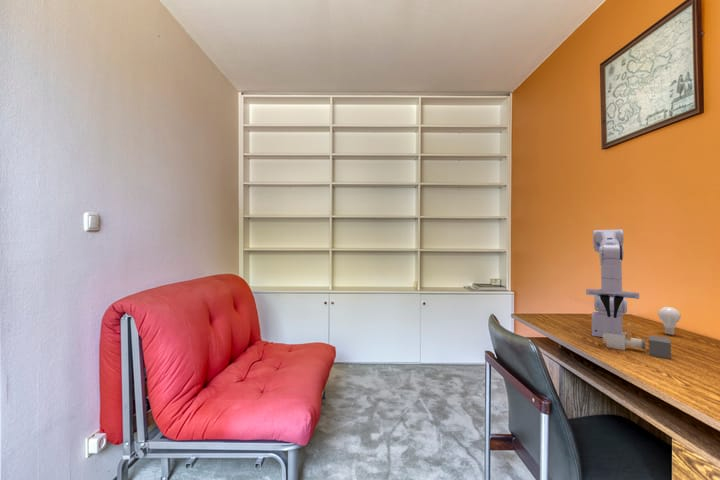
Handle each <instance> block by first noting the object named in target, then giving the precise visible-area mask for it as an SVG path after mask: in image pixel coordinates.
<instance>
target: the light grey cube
mask: <svg viewBox="0 0 720 480" xmlns="http://www.w3.org/2000/svg"><path fill="white" fill-rule="evenodd" d="M625 337H627V331H625V332H624V331H622V332H619V331H612V330H607V332H606V342H605V346H606V348H609V349H610V348H611V349H614V350H615V349H616V350H622V351H626V347H627V346H625Z"/></svg>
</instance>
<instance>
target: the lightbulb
mask: <svg viewBox="0 0 720 480" xmlns="http://www.w3.org/2000/svg"><path fill="white" fill-rule="evenodd" d="M657 316H658V318H659V319H660V320H661V322H662V324H663V327H664V333H665V334H667V335H668V336H673V335H675V328H676V325H677V323H679V321H680V320H681V319H682V315H681V313H680V311H679V310H678V309H676V308H675V307H672V306H663V307H661V308H660V309H659V310H658V311H657Z"/></svg>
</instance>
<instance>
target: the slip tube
mask: <svg viewBox="0 0 720 480" xmlns="http://www.w3.org/2000/svg"><path fill="white" fill-rule="evenodd" d="M602 342H603V343H606V334H604V333H603V337H602ZM625 346H626V347H630V348H638V349H643V350H646V339H645V338H644V339H643V338H636V337H632V323H626V337H625Z"/></svg>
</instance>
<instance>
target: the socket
mask: <svg viewBox="0 0 720 480" xmlns="http://www.w3.org/2000/svg"><path fill="white" fill-rule="evenodd" d="M671 346H672V343H671V339H670V337H665V336H664V337H663V336H656V335H650V334H649V335H648V351H649V352H648V355H649V356H650V357H656V358H663V359H667V360H672V347H671Z"/></svg>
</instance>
